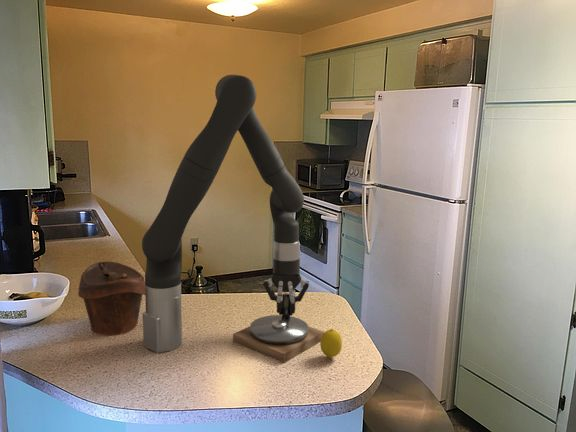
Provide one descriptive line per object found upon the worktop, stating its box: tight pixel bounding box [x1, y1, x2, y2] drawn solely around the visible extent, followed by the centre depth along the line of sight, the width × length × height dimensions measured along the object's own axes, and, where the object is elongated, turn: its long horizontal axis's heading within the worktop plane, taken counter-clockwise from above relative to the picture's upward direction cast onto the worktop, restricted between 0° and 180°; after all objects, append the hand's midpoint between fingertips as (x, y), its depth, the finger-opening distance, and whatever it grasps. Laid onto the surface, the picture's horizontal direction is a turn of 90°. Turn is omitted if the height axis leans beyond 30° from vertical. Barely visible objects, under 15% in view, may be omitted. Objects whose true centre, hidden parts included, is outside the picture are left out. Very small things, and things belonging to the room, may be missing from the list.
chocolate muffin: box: [77, 261, 145, 336], centre depth 139 cm, size 18×20×18 cm
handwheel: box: [249, 292, 309, 344], centre depth 133 cm, size 16×16×9 cm
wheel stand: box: [232, 325, 325, 364], centre depth 134 cm, size 18×18×3 cm
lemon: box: [319, 328, 343, 359], centre depth 125 cm, size 6×6×8 cm
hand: (286, 314), depth 140 cm, fingers closed on handwheel, 2 cm apart
